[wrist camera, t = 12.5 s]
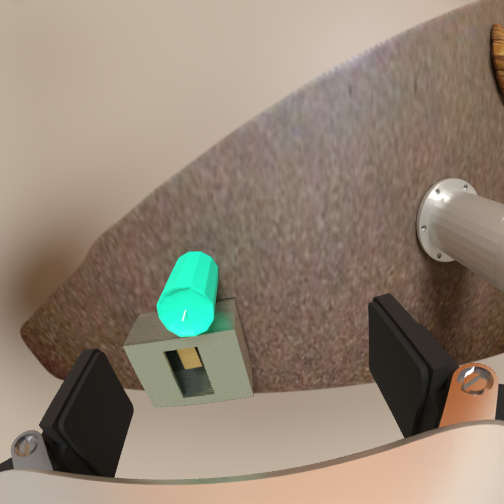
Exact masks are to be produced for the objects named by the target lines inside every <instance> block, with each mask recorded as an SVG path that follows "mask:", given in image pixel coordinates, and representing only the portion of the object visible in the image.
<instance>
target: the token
mask: <svg viewBox="0 0 504 504" xmlns="http://www.w3.org/2000/svg"><path fill="white" fill-rule="evenodd" d="M177 352H178V354H179V357H180V359H181V361H182V363H183V365H184V368H185V369H190V368H196V367H202V365H203V361H202V358H201V356H200V353H199V350H198V347H192V348H185V349H178V350H177Z"/></svg>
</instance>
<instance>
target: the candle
mask: <svg viewBox="0 0 504 504" xmlns="http://www.w3.org/2000/svg"><path fill="white" fill-rule="evenodd" d="M217 287H218V266H217V265H216V263H215V262H214V260H213V259H212V257H210V256H208V255H206V254H204V253H202V252H188V253H186V254H184V255H183V256H181V257H179V259H178V261H177V263H176V265H175V267H174V269H173V271H172V273H171V275H170V277H169V279H168V281H167V284H166V286H165V288H164V290H163V292H162V294H161V297H160V299H159V301H158V303H157V310H158V315H159V318H160V320H161V321H162V323H163V324H164V325H165V327H166V328H167V329H168V330H169V331H171V332H173V333H174V334H176V335H178V336H179V337H190V336H196V335H199V334H201V333H203V332H205V331H207V330H208V328H209V326H210V325H211V323H212V321H213V319H214V312H215V304H216V295H217Z"/></svg>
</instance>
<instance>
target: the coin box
mask: <svg viewBox="0 0 504 504" xmlns="http://www.w3.org/2000/svg"><path fill="white" fill-rule="evenodd" d="M123 347H124V349H125V351H126V353H127V356H128V358H129V360H130V362H131V364H132V366H133V368H134V370H135V372H136V374H137V376H138V378H139V380H140V382H141V384H142V386H143V387H144V389H145V391H146V393H147V395H148V396H149V399H150V400H151V402H152V404H153V406H154V408H163V407H175V406H186V405H195V404H204V403H212V402H220V401H227V400H234V399H240V398H247V397H252V396H254V393H253V380H252V367H251V358H250V354H249V351H248V347H247V343H246V339H245V336H244V332H243V328H242V324H241V320H240V316H239V312H238V308H237V305H236V301H235V297H233V298H228V299H223V300H217V301H216V304H215V312H214V319H213V321H212V323H211V325H210V326H209V328H208V330H207V331H205V332H203V333H201V334H199V335H196V336H190V337H179V336H178V335H176V334H174V333H173V332H171V331H169V330H168V329H167V328H166V327H165V325H164V324H163V323H162V321H161V320H160V318H159V315H158V311H156V312H151V313H145V314H139V316H138V318H137V320H136V322H135V323H134V325H133V327H132V329H131V331H130V333H129V335H128V337H127V339H126V341H125V344H124V346H123ZM192 347H198V350H199V353H200V356H201V358H202V361H203V365H202V367H196V368H190V369H185V368H184V365H183V363H182V361H181V359H180V357H179V354H178V352H177V350H178V349H185V348H192Z"/></svg>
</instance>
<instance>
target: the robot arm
mask: <svg viewBox="0 0 504 504" xmlns="http://www.w3.org/2000/svg"><path fill="white" fill-rule="evenodd" d="M416 224H417V228H416V230H417V236H418V240H419V242H420V245H421V247H422V248H423V250H424V251H425V252H426V253H427V254H428V255H429V256H430V257H432V258H433V259H435V260H437V261H440V262H451V261H454V260H456V261H457V262H459V263H460V264H462V265H463V266H465V267H467V268H468V269H470V270H471V271H473V272H474V273H476V274H477V275H479V276H480V277H482V278H483V279H484V280H486V281H487V282H489V283H490V284H492V285H493V286H495V287H496V288H497V289H499V290H500V291H502V292H503V293H504V204H502V203H499V202H496V201H493V200H490V199H487V198H484V197H480V196H478V195H477V193H476V191H475V190H474V188H473V187H472V186H471V185H470V184H469V183H467V182H466V181H464V180H461V179H457V178H446V179H443V180H441V181H439V182H437V183H436V184H434V185H433V186H432V187H431V188H430V189H429V190H428V192H427V193H426V195H425V196H424V198H423V200H422V202H421V204H420V207H419V210H418V214H417V221H416ZM368 312H369V368H370V372H371V374H372V376H373V378H374V380H375V381H376V383H377V385H378V387H379V389H380V391H381V393H382V395H383V397H384V399H385V401H386V402H387V404H388V406H389V408H390V410H391V412H392V414H393V416H394V418H395V420H396V422H397V424H398V426H399V428H400V430H401V432H402V434H403V436H404V439H401V440H398V441H395V442H392V443H389V444H386V445H383V446H380V447H377V448H374V449H370V450H366V451H363V452H359V453H356V454H352V455H348V456H344V457H340V458H336V459H333V460H328V461H324V462H320V463H315V464H311V465H306V466H301V467H296V468H290V469H285V470H279V471H272V472H265V473H258V474H250V475H242V476H233V477H222V478H207V479H184V480H147V479H146V480H145V479H124V478H114V477H115V473H116V469H117V466H118V462H119V459H120V455H121V451H122V448H123V445H124V441H125V438H126V435H127V432H128V428H129V425H130V422H131V419H132V416H133V412H134V411H133V405H132V403H131V401H130V399H129V398H128V396H127V394H126V393H125V391H124V389H123V387H122V385H121V383H120V382H119V380H118V378H117V376H116V374H115V372H114V370H113V369H112V367H111V365H110V363H109V361H108V359H107V357H106V355H105V354H104V353H103V352H101V351H100V350H99V349H87V350H83V351H82V353H81V354H80V356H79V357H78V359H77V361H76V362H75V364H74V365H73V367H72V369H71V370H70V372H69V374H68V375H67V377H66V379H65V380H64V382H63V384H62V385H61V387H60V389H59V390H58V392H57V394H56V395H55V397H54V399H53V401H52V402H51V404H50V406H49V408H48V409H47V411H46V413H45V415H44V417H43V418H42V420H41V422H40V424H39V426H40V427H41V429H42V430H43V433H42V434H40V433H39V432H38V431H35V430H30V431H26V432H23V433H22V434H21V435H19V436H18V437H17V438H16V439H15V440H14V442H13V443H12V446H11V455H12V458H10V459H8V460H6V461H4V462H3V463H1V464H0V504H504V384H498V383H499V382H498V376H497V374H496V373H495V371H494V370H493V369H491V368H490V367H488V366H486V365H484V364H480V363H469V364H465V365H463V366H461V367H459V366H458V365H457V364H456V362H455V361H454V360H453V359H452V358H451V356H450V355H449V354H448V353H447V352H446V351H445V350H444V348H443V347H442V346H441V345H440V344H439V343H438V342H437V340H436V339H435V338H434V337H433V336H432V335H431V334H430V332H429V331H428V330H427V329H426V328H425V327H424V326H423V325H422V324H419V323H417V322H416V321H415V320H414V319H413V318H412V317H411V316H410V314H409V313H408V312H407V311H406V310H405V309H404V308H403V307H402V306H401V305H400V303H399V302H398V301H397V300H396V299H395V298H394V297H393V296H392V295H391V294H390V293H388V294H384V295H381V296H377V297H374V298H373V302H371V303H369V305H368Z"/></svg>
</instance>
